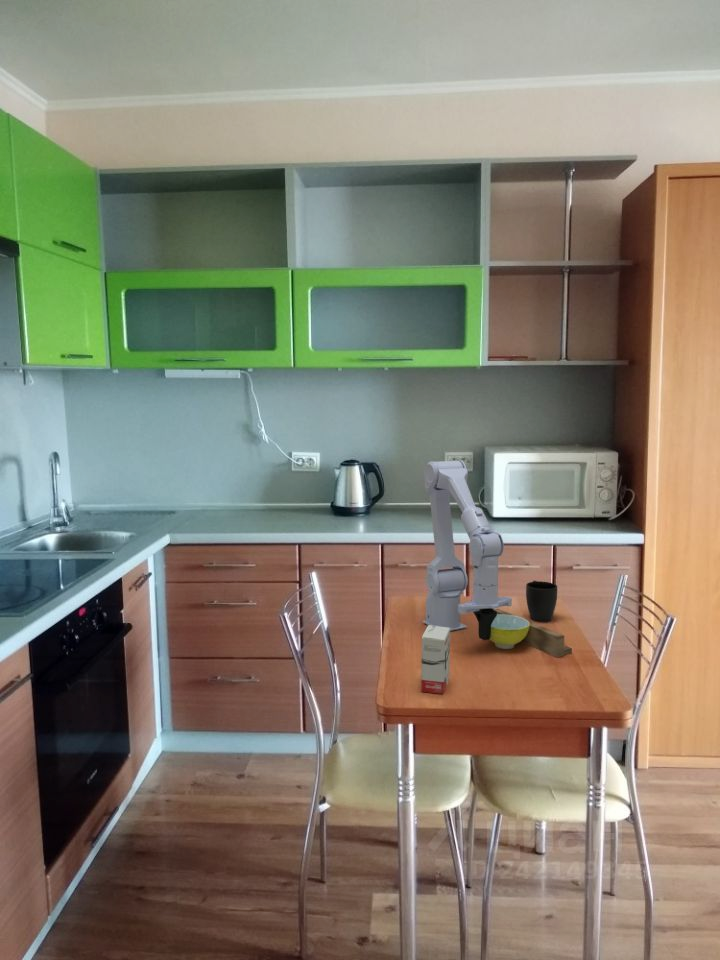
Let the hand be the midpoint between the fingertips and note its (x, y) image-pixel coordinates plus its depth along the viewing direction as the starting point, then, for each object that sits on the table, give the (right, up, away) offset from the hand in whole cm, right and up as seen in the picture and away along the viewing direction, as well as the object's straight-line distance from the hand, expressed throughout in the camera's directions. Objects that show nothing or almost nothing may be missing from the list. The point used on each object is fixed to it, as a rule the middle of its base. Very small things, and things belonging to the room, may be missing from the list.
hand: (484, 638), depth 166 cm
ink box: (-14, -6, -19) cm, 24 cm away
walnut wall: (+13, -2, +7) cm, 15 cm away
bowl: (+5, -3, +3) cm, 7 cm away
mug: (+20, 0, +26) cm, 32 cm away
